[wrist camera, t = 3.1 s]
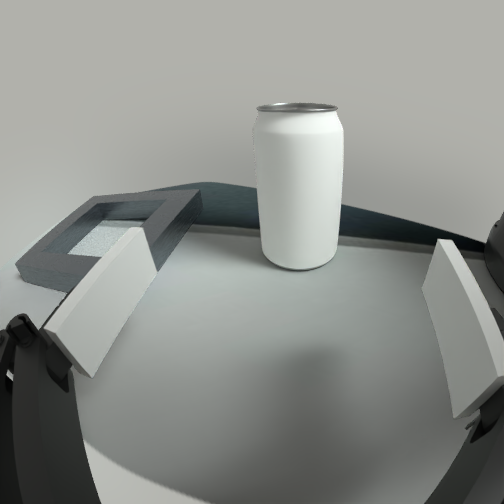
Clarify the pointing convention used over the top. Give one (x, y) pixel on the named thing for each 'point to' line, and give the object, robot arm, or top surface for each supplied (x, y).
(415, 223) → the top surface
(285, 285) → the top surface
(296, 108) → the can
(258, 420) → the top surface
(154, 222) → the jig
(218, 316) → the top surface
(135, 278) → the robot arm
